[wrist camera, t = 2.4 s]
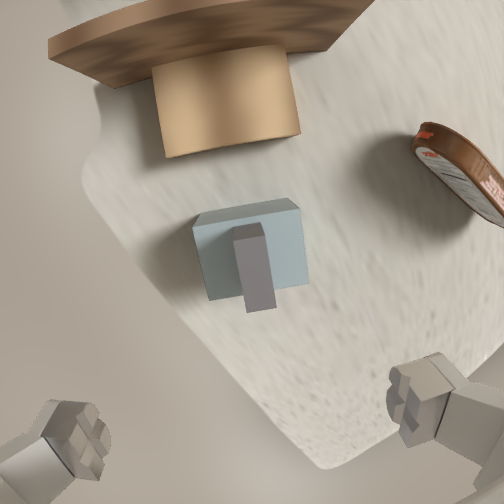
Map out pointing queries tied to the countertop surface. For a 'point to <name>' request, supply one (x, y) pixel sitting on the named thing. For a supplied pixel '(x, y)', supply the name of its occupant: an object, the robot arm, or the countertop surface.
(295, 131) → the brown wooden piece
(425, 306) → the countertop surface
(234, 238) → the blue block with handle
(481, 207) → the tin
